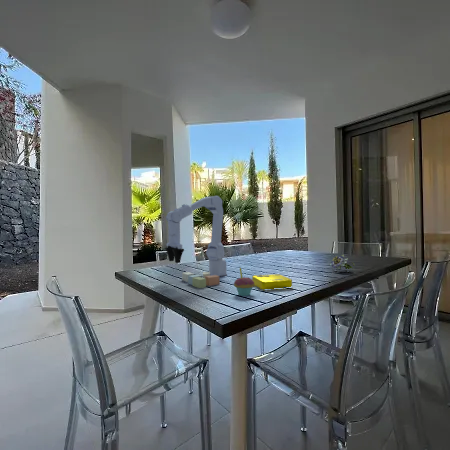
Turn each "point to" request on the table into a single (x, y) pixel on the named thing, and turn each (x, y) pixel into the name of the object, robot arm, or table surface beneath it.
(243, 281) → the cupcake
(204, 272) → the cream brick
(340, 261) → the passion flower
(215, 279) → the terracotta brick
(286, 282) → the element tile
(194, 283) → the olive brick
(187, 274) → the grey brick
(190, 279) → the blue brick
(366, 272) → the table surface
